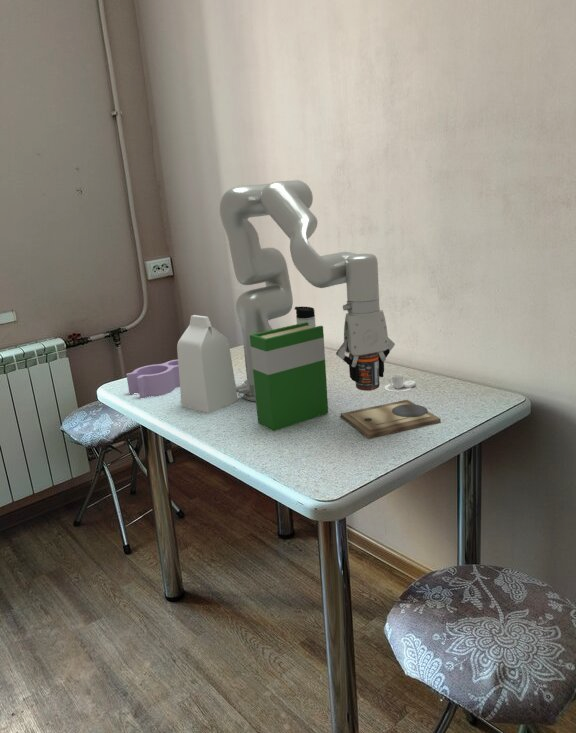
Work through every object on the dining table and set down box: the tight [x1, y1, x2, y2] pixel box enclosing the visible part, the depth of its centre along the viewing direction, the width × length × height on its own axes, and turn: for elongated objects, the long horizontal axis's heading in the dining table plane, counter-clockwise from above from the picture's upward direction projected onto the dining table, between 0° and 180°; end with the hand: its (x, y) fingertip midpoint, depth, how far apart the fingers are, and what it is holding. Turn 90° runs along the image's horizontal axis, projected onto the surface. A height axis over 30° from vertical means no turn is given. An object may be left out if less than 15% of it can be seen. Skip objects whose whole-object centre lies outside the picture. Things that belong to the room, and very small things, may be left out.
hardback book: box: [250, 322, 329, 432], centre depth 160 cm, size 18×7×24 cm, turn 124°
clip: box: [125, 359, 180, 399], centre depth 196 cm, size 20×12×7 cm, turn 134°
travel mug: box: [294, 306, 317, 327], centre depth 207 cm, size 6×7×20 cm
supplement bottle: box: [354, 353, 381, 392], centre depth 151 cm, size 6×6×11 cm
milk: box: [176, 314, 239, 414], centre depth 176 cm, size 12×12×26 cm
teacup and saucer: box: [384, 373, 417, 393], centre depth 180 cm, size 9×8×4 cm
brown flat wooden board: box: [340, 399, 442, 439], centre depth 157 cm, size 20×16×1 cm
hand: (367, 377), depth 152 cm, fingers closed on supplement bottle, 6 cm apart
